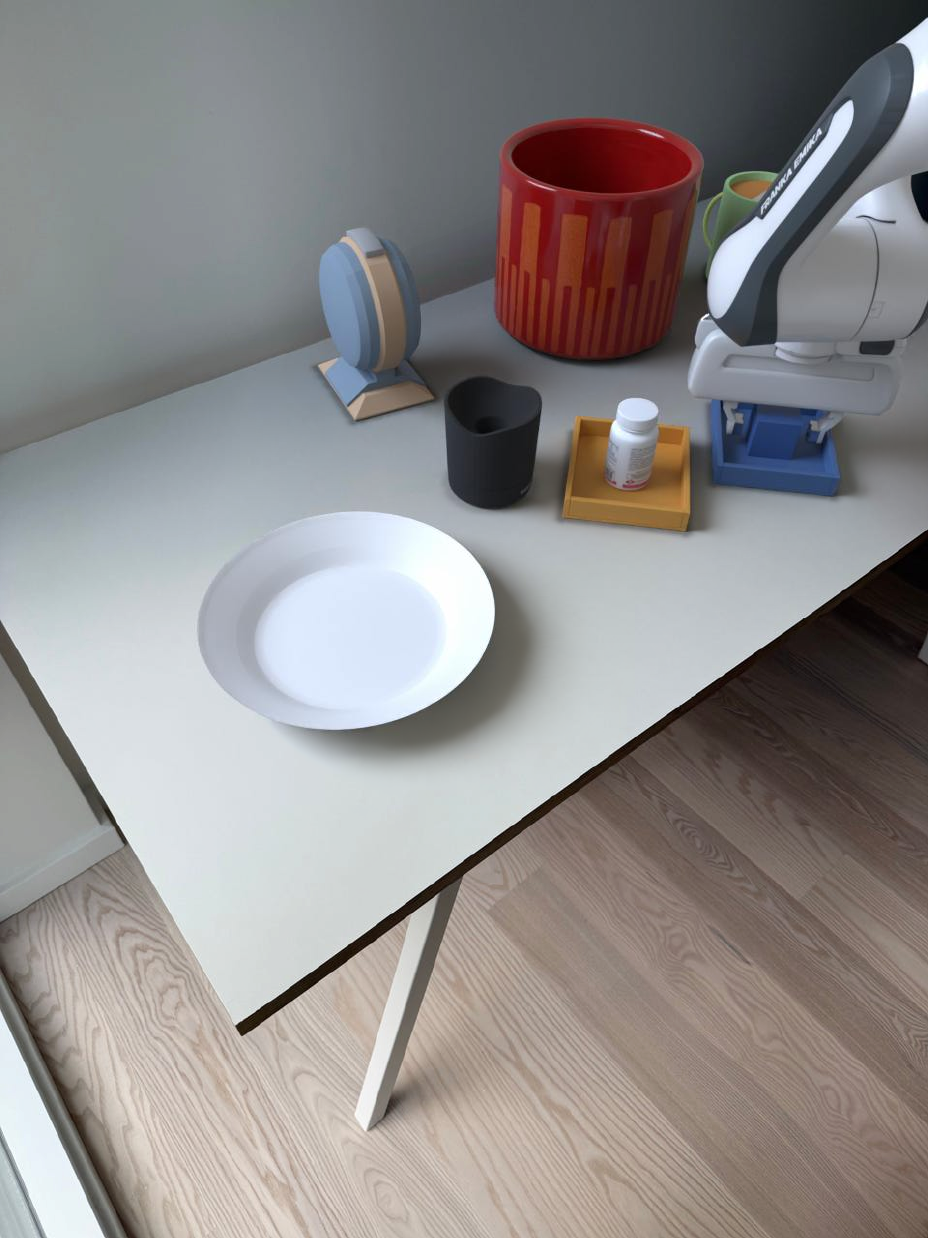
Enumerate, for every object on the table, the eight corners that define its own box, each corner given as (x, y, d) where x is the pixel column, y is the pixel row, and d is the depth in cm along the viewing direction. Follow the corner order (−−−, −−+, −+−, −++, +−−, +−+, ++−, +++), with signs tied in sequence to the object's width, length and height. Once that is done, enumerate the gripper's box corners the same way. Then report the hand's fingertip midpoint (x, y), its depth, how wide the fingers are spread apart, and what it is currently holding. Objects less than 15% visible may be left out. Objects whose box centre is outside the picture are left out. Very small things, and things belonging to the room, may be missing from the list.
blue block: (787, 435, 98) (798, 400, 95) (790, 460, 95) (802, 425, 92) (745, 431, 98) (755, 396, 95) (747, 455, 95) (758, 420, 92)
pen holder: (468, 523, 88) (469, 440, 81) (430, 469, 94) (428, 387, 87) (551, 497, 91) (560, 415, 84) (509, 446, 97) (514, 365, 89)
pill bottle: (655, 470, 94) (669, 402, 87) (641, 497, 91) (655, 428, 84) (611, 458, 95) (622, 390, 89) (597, 484, 92) (607, 415, 86)
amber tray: (685, 445, 97) (689, 426, 95) (685, 531, 88) (690, 513, 86) (573, 433, 99) (576, 415, 97) (562, 517, 89) (564, 498, 87)
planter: (556, 387, 105) (573, 213, 90) (461, 300, 118) (462, 136, 103) (709, 337, 112) (749, 169, 97) (603, 261, 126) (624, 103, 111)
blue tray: (819, 416, 101) (825, 398, 99) (833, 496, 92) (840, 478, 90) (710, 405, 102) (714, 387, 100) (712, 483, 93) (717, 465, 91)
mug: (794, 274, 124) (820, 184, 115) (757, 302, 118) (781, 210, 109) (715, 246, 129) (734, 158, 120) (676, 271, 124) (693, 182, 115)
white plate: (147, 643, 78) (136, 616, 75) (356, 504, 90) (353, 476, 88) (344, 814, 66) (339, 788, 64) (551, 628, 79) (554, 600, 76)
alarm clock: (438, 404, 102) (435, 253, 89) (358, 425, 99) (344, 273, 86) (389, 344, 111) (381, 198, 98) (315, 362, 108) (296, 214, 95)
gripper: (700, 323, 84) (674, 443, 95) (925, 343, 82) (873, 463, 92) (700, 291, 89) (674, 408, 99) (913, 309, 86) (865, 427, 97)
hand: (772, 435), depth 96 cm, fingers open, 7 cm apart
